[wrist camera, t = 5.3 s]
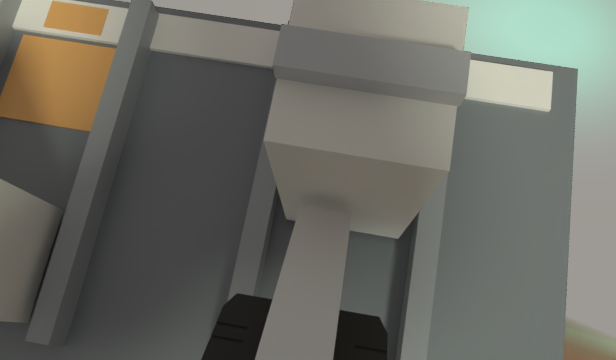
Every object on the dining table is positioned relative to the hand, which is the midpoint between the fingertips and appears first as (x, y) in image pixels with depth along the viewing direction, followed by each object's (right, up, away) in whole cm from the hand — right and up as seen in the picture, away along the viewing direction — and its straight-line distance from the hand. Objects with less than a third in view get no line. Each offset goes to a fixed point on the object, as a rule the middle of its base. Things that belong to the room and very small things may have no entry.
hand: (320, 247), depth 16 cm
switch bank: (-5, 0, +6) cm, 8 cm away
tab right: (+1, +2, +4) cm, 4 cm away
